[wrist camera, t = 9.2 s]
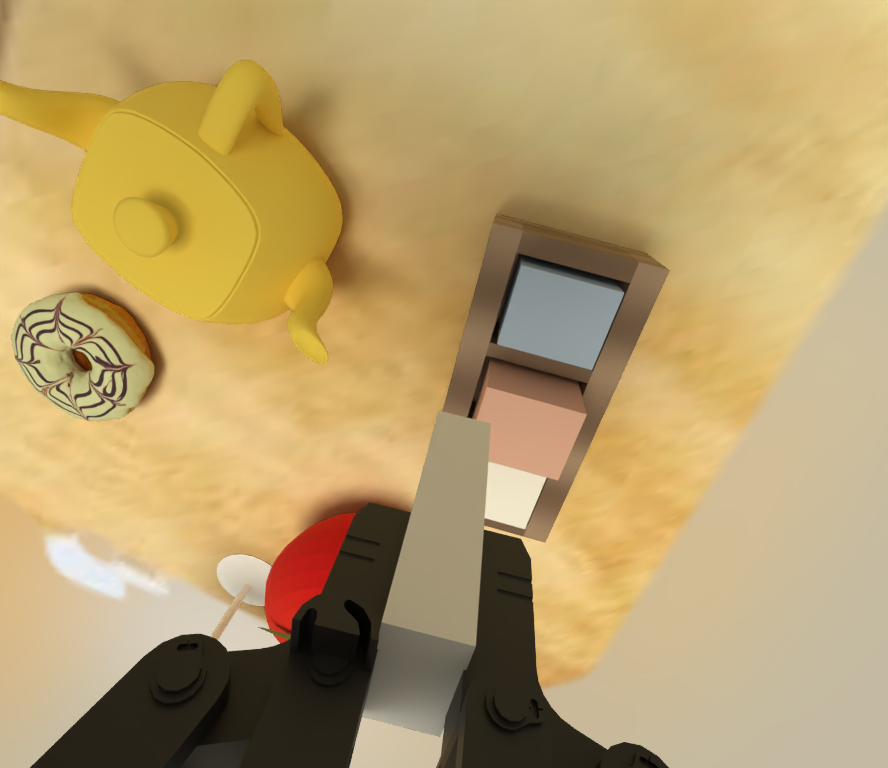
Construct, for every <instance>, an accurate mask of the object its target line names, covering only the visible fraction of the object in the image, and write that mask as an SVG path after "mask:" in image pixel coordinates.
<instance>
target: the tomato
mask: <svg viewBox="0 0 888 768" xmlns="http://www.w3.org/2000/svg"><path fill="white" fill-rule="evenodd" d="M356 514H357V513H347V514H341V515H338V516H335V517H331V518H328V519H325V520H323V521H321V522H319V523H316V524H314V525H313V526H311V527H310V528H308V529H307V530H305V531H304V532H303V533H301V534H300V535H299V536H298V537H296V538H295V539H294V540H293V541H292V542H291V543H289V544H288V545H287V546H286V547H285V548H284V550H283V551H282V552H281V554H280V555H279V556H278V557H277V559H276V561H275V562H274V564H273V566H272V567H271V569H270V572H269V575H268V578H267V581H266V588H265V602H264V608H265V613H266V618H267V622H268V625H269V628H270V630H269V629H265V628H261V629H263V630H266V631H268V632H270V633H273V635H274V636H275V637H276V639H277V640H278V641H279V642H280V643H283V642H285V641H287V640H289V639H290V638H291V627H292V618H293V617H294V615H295V614H296V613H297V611H298V610H299V608H300V607H301V606H302V604H304V603H305V602H307V601H308V600H310V599H311V598H313V597H314V596H316V595H318V594H321V593H322V590H323V588H324V586H325V583H326V581H327V579H328V576H329V574H330V571H331V569H332V567H333V564H334V562H335V560H336V557H337V555H338V554H339V550H340V548H341V545H342V543H343V541H344V538H345V537H346V534H347V531H348V529H349V527H350V524H351V522H352V520H353V517H354V516H355V515H356Z"/></svg>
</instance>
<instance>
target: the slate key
mask: <svg viewBox="0 0 888 768" xmlns="http://www.w3.org/2000/svg"><path fill="white" fill-rule="evenodd" d="M623 295H624V292H623V290H622V289H621V288H620V287H619V285H618V284H617V283H616V282H615V280H614V279H613V278H609V277H605V276H602V275H598V274H594V273H590V272H587V271H583V270H579V269H575V268H572V267H568V266H564V265H560V264H557V263H553V262H549V261H546V260H542V259H538V258H534V257H531V256H527V255H523V254H519V257H518V260H517V264H516V267H515V270H514V274H513V277H512V280H511V283H510V287H509V290H508V293H507V297H506V300H505V303H504V307H503V310H502V313H501V316H500V322H499V331H498V340H497V344H498V345H501V346H505V347H509V348H512V349H516V350H520V351H523V352H527V353H531V354H534V355H538V356H542V357H545V358H549V359H553V360H556V361H560V362H564V363H567V364H571V365H575V366H578V367H582V368H586V369H589V370H592V369H593V366H594V364H595V362H596V359H597V357H598V354H599V352H600V350H601V347H602V345H603V343H604V340H605V338H606V335H607V333H608V331H609V328H610V326H611V324H612V321H613V319H614V317H615V314H616V312H617V309H618V307H619V305H620V302H621V300H622V298H623Z"/></svg>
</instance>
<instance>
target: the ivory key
mask: <svg viewBox="0 0 888 768" xmlns="http://www.w3.org/2000/svg"><path fill="white" fill-rule="evenodd" d="M546 478H547V477H544V476H540V475H537V474H533V473H530V472H526V471H523V470H519V469H515V468H512V467H508V466H505V465H501V464H497V463H494V462H490V461H488V476H487V490H486V505H485V518H486V519H490V520H493V521H497V522H501V523H504V524H508V525H511V526H515V527H518V528H522V529H525V528H526V525H527V523H528V521H529V518H530V516H531V514H532V511H533V509H534V506H535V504H536V502H537V499H538V497H539V495H540V492H541V490H542V487H543V485H544V483H545V480H546Z"/></svg>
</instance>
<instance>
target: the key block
mask: <svg viewBox="0 0 888 768" xmlns="http://www.w3.org/2000/svg"><path fill="white" fill-rule="evenodd" d="M519 254H523V255H527V256H531V257H534V258H538V259H542V260H546V261H549V262H553V263H557V264H560V265H564V266H568V267H572V268H575V269H579V270H583V271H587V272H590V273H594V274H598V275H602V276H605V277H609V278H613V279H614V280H615V282H616V283H617V284H618V285H619V287H620V288H621V289H622V290H623V292H624V295H623V298H622V300H621V302H620V305H619V307H618V309H617V312H616V314H615V317H614V319H613V321H612V324H611V326H610V328H609V331H608V333H607V335H606V338H605V340H604V343H603V345H602V347H601V350H600V352H599V354H598V357H597V359H596V362H595V364H594V366H593V369H592V370H589V369H586V368H582V367H578V366H575V365H571V364H567V363H564V362H560V361H556V360H553V359H549V358H545V357H542V356H538V355H534V354H531V353H527V352H523V351H520V350H516V349H512V348H509V347H505V346H501V345H498V344H497V340H498V331H499V322H500V316H501V313H502V310H503V307H504V303H505V300H506V297H507V293H508V290H509V287H510V283H511V280H512V277H513V274H514V270H515V267H516V264H517V260H518V257H519ZM668 273H669V270H668V269H667V268H666V267H664V266H663V265H662V264H660V263H659V262H657V261H656V260H655V259H653V258H652V257H651V256H649V255H648V254H646V253H642V252H638V251H634V250H631V249H627V248H623V247H619V246H616V245H612V244H608V243H604V242H601V241H597V240H593V239H589V238H586V237H582V236H578V235H574V234H570V233H567V232H563V231H559V230H555V229H552V228H548V227H544V226H540V225H537V224H533V223H529V222H525V221H522V220H518V219H514V218H510V217H507V216H503V215H499V214H497V215H496V217H495V220H494V223H493V226H492V230H491V233H490V237H489V241H488V245H487V248H486V252H485V256H484V259H483V263H482V267H481V271H480V274H479V278H478V282H477V285H476V289H475V293H474V297H473V300H472V304H471V308H470V311H469V315H468V319H467V323H466V326H465V330H464V334H463V337H462V341H461V345H460V349H459V352H458V356H457V360H456V363H455V367H454V371H453V374H452V378H451V382H450V386H449V389H448V393H447V397H446V400H445V404H444V408H443V412H446V413H451V414H455V415H459V416H463V417H467V418H471V419H472V416H473V412H474V409H475V406H476V403H477V399H478V396H479V393H480V389H481V386H482V383H483V380H484V376H485V373H486V370H487V367H488V363H489V360H490V357H493V358H497V359H501V360H504V361H508V362H511V363H515V364H519V365H522V366H526V367H530V368H533V369H537V370H541V371H544V372H548V373H552V374H555V375H559V376H563V377H566V378H570V379H574V380H577V381H578V384H579V387H580V391H581V395H582V398H583V402H584V406H585V409H586V413H587V415H586V418H585V420H584V422H583V425H582V427H581V429H580V431H579V434H578V436H577V438H576V441H575V443H574V445H573V447H572V450H571V452H570V454H569V457H568V459H567V461H566V463H565V466H564V468H563V470H562V473H561V475H560V477H559V479H558V480H555V479H551V478H548V477H547V478H546V480H545V483H544V485H543V487H542V490H541V492H540V495H539V497H538V499H537V502H536V504H535V506H534V509H533V511H532V514H531V516H530V518H529V521H528V523H527V525H526V528H525V529H522V528H518V527H515V526H511V525H508V524H504V523H501V522H497V521H493V520H490V519H486V518H485V519H484V525H485V526H488V527H492V528H495V529H499V530H503V531H506V532H510V533H513V534H517V535H520V536H524V537H527V538H531V539H534V540H538V541H541V542H546V540H547V538H548V535H549V533H550V531H551V529H552V527H553V524H554V522H555V520H556V518H557V516H558V513H559V511H560V509H561V507H562V505H563V503H564V500H565V498H566V496H567V494H568V492H569V489H570V487H571V485H572V483H573V481H574V478H575V476H576V474H577V472H578V470H579V467H580V465H581V463H582V461H583V459H584V457H585V454H586V452H587V450H588V448H589V446H590V443H591V441H592V439H593V437H594V435H595V432H596V430H597V428H598V426H599V424H600V421H601V419H602V417H603V415H604V413H605V411H606V408H607V406H608V404H609V402H610V400H611V397H612V395H613V393H614V391H615V389H616V386H617V384H618V382H619V380H620V378H621V375H622V373H623V371H624V369H625V367H626V365H627V362H628V360H629V358H630V356H631V354H632V351H633V349H634V347H635V345H636V343H637V340H638V338H639V336H640V334H641V332H642V329H643V327H644V325H645V323H646V321H647V319H648V316H649V314H650V312H651V310H652V308H653V305H654V303H655V301H656V299H657V297H658V294H659V292H660V290H661V288H662V286H663V283H664V281H665V279H666V277H667V275H668Z"/></svg>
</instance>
